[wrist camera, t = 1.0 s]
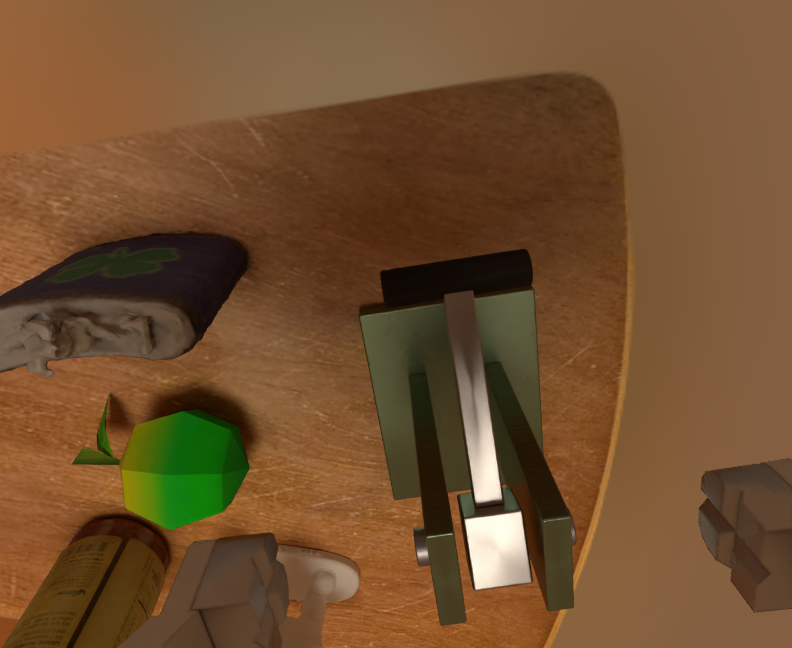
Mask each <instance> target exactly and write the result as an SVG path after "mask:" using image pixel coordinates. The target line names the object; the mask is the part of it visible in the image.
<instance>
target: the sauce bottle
mask: <svg viewBox="0 0 792 648" xmlns="http://www.w3.org/2000/svg"><path fill="white" fill-rule="evenodd" d="M167 558H168V557H167V550H166V547H165V544H164V542H163V540H162V538H161V537H159V536H158V535H157V534H156V533H154V532H153V531H151V530H150V529H148V528H146V527H145V526H143V525H142V524H140V523H138V522H135V521H133V520H128V519H121V518H112V519H101V520H98V521H95V522H92V523H90V524H88V525H86V526H85V527H84V528H83V529H82V530H81V531H79V532H78V534H77V535H76V536H75V537H74V538H73V539H72V541H71V543H70V544H69V546H68V547H67V548H66V549H64V550H63V551H62V553H61V555H60V556H59V558H58V559H57V561H56V563H55V564H54V566H53V567H52V569H51V571H50V572H49V574H48V575H47V577H46V579H45V580H44V582H43V583H42V585H41V587H40V588H39V590H38V591H37V593H36V595H35V596H34V598H33V599H32V601H31V602H30V604H29V605H28V607H27V608H26V610H25V612H24V613H23V615H22V617H21V618H20V620H19V621H18V623H17V625H16V626H15V628H14V629H13V631H12V633H11V634H10V636H9V637H8V639H7V641H6V642H5V644H4V645H3V647H2V648H118V647H119V646H120V645H121V644H122V643H123V642H124V641H125V640H127V639H128V638H129V637H130V636H131V635H132V634H133V633H134V632H135V631H136V630H137V629H139V628H140V627H141V626H142V625H143V624H144V623H145V622H146V621H147V620H148V619H149V618H150V617H151V615H152V613H153V610H154V608H155V605H156V603H157V600H158V597H159V595H160V592H161V589H162V587H163V584H164V580H165V574H166V569H167V564H168V562H167Z"/></svg>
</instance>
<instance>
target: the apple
mask: <svg viewBox="0 0 792 648" xmlns="http://www.w3.org/2000/svg"><path fill="white" fill-rule="evenodd" d="M108 400H109V396H108V399H107V403H106V406H105V410H104V413H103V416H102V420H101V423H100V427H99V430H98V433H97V447H98V450H99V451H101V452H102V453H104V454H106V455H104V454H102V453H99V452H96V451H94V450H91V449H88V448H85V447H83V448H82V450H81V451H80V453H79V454H78V456H77V457H76V459H75V460H74V462H73V463H72V464H87V465H120V471H121V479H122V486H123V493H124V501H125V508H126V509H128V510H130V511H132V512H134V513H136V514H138V515H140V516H142V517H144V518H146V519H148V520H150V521H152V522H154V523H156V524H158V525H160V526H162V527H164V528H166V529H168V530H172V529H175V528H178V527H181V526H183V525H186V524H189V523H192V522H195V521H198V520H201V519H204V518H207V517H210V516H213V515H215V514H218V513H221V512H223V511H224V510H225V509H226V508H227V507H228V506H229V505H230V504H231V503H232V501H233V499H234V497H235V495H236V493H237V491H238V489H239V488H240V486H241V484H242V482H243V480H244V478H245V476H246V474H247V472H248V471H249V469H250V467H249V464H248V460H247V456H246V453H245V449H244V445H243V442H242V438H241V434H240V431H239V427H237V426H235V425H233V424H231V423H228V422H226V421H224V420H222V419H220V418H217V417H215V416H213V415H211V414H208V413H206V412H204V411H202V410H200V409H196V410H188V411H182V412H178V413H175V414H172V415H168V416H165V417H161V418H158V419H155V420H151V421H148V422H144V423H141V424H138V425H135V427H134V429H133V432H132V434H131V436H130V439H129V441H128V443H127V446H126V448H125V450H124V453H123V455H122V457H121V460H118V459H115V458H114V457H113V454H112V450H111V447H110V444H109V441H108V438H107V435H106V415H107V407H108Z"/></svg>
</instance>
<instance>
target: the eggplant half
mask: <svg viewBox="0 0 792 648" xmlns="http://www.w3.org/2000/svg"><path fill="white" fill-rule="evenodd" d="M248 259H249V257H248V251H247V249H246V248H245V247H244V245H243V244H242V242H241V241H238V240H237V239H235V238H233V237H231V236H224V235H221V234H216V233H197V232H191V231H190V232H189V231H188V232H187V233H185V232H184V233H183V232H179V231H178V232H168V233H162V234H161V233H156V234H155V233H153V234H151V235H148V236H144V237H136V238H132V239H125V240H120V241H118V242H112V243H111V242H109V243H104V244H102V245H99V246H98V245H97V246H94V247H91V248H88V249H86V250H84V251H80V252H77V253H75V254H73V255H71V256H70V257H68V258H67V259H65V260H64V261H63V262H61V263H59V264H57V265H55V266H53V267H51V268H49V269H47V270H46V271H44V272H43V273H42V274H40V275H38V276H36V277H34V278H33V279H31V280H28V281H25V282H24V283H23V284H22V285H20V286H18V287H16V288H14V289H12V290H10V291H8V292H6V293H5V294H3V295H1V296H0V373H1V372H5V371H9V370H13V369H16V368H18V367H22V366H25V365H26V368H27V369H28V371H29V372H31V373H36V374H43V375H44V376H46V377H47V378H48V377H53V375H54V374H55V373H54V371H53V370H50V369H48V368H47V363H48V361H50V360H61V359H68V358H79V357H93V356H130V357H135V358H139V357H142V358H144V359H149V360H169V359H174V358H177V357H179V356H181V355H183V354H185V353H187V352H189V351H190V350H192V349H193V348H194V346H195V345H196V343H197V342H198V341H200V340H201V339H202V338H203V336H204V333H205V332H206V330H207V328H208V327H209V326H210V325H211V324H212V322H213V320H214V318H215V316H216V315H217V313H218V311H219V310H220V309H221V307H222V305H223V303H225V301H226V300H227V299H228V298H229V295H230V294H231V292H232V290H233V289H234V287H235V285H236V283H237V282H238V281H239V279H240V278H241V277H242V276H243V275H244V273H245V272H246V270H247V269H249V268H251V266H250V265H249V262H248Z"/></svg>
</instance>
